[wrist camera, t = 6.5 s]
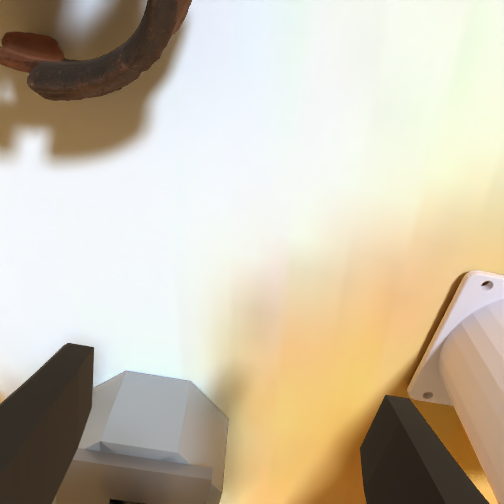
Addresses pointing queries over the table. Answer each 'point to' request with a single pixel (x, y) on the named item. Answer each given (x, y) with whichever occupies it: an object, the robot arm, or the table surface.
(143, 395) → the gray faceted block
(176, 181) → the table surface
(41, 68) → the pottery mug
